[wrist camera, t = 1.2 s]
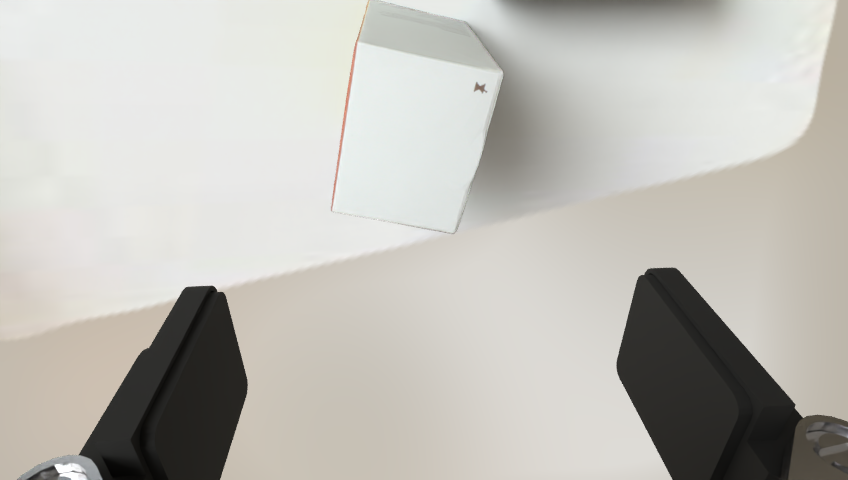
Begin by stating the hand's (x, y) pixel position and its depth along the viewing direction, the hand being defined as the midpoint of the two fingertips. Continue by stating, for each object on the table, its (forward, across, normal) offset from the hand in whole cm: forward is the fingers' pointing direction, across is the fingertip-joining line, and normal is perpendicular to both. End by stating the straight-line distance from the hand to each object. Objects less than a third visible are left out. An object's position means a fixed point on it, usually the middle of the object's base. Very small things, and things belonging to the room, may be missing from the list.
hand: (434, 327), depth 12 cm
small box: (+25, 0, 0) cm, 25 cm away
